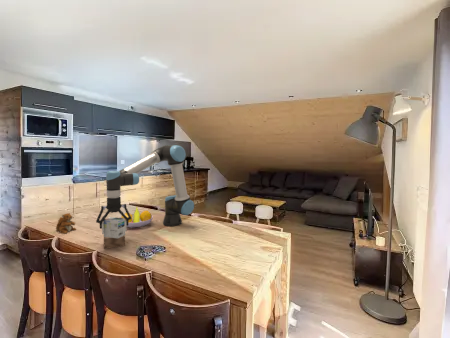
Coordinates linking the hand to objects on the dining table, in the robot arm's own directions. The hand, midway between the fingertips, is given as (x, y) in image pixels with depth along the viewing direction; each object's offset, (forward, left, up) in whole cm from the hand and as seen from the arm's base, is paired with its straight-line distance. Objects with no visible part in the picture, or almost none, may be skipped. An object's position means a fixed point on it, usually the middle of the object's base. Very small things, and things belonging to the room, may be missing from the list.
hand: (114, 232), depth 147 cm
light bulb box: (0, 0, -3) cm, 3 cm away
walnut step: (0, -9, -10) cm, 13 cm away
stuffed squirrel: (+32, -49, -11) cm, 60 cm away
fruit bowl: (-17, -45, -11) cm, 49 cm away
